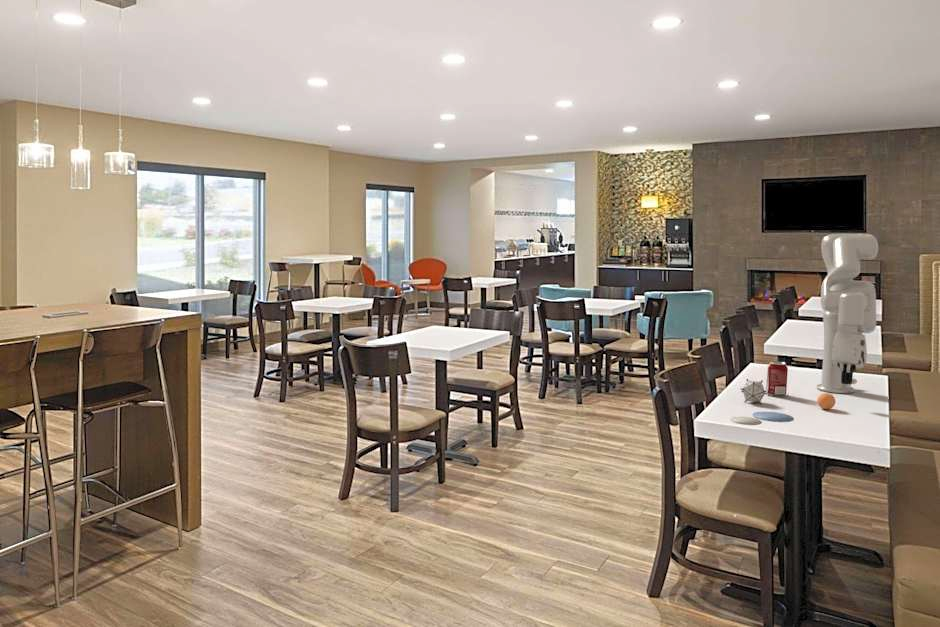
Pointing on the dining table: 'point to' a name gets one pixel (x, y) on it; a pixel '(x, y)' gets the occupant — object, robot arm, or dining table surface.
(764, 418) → the disc
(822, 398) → the ball
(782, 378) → the soda can
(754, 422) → the far disc
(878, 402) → the dining table surface
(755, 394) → the game die
